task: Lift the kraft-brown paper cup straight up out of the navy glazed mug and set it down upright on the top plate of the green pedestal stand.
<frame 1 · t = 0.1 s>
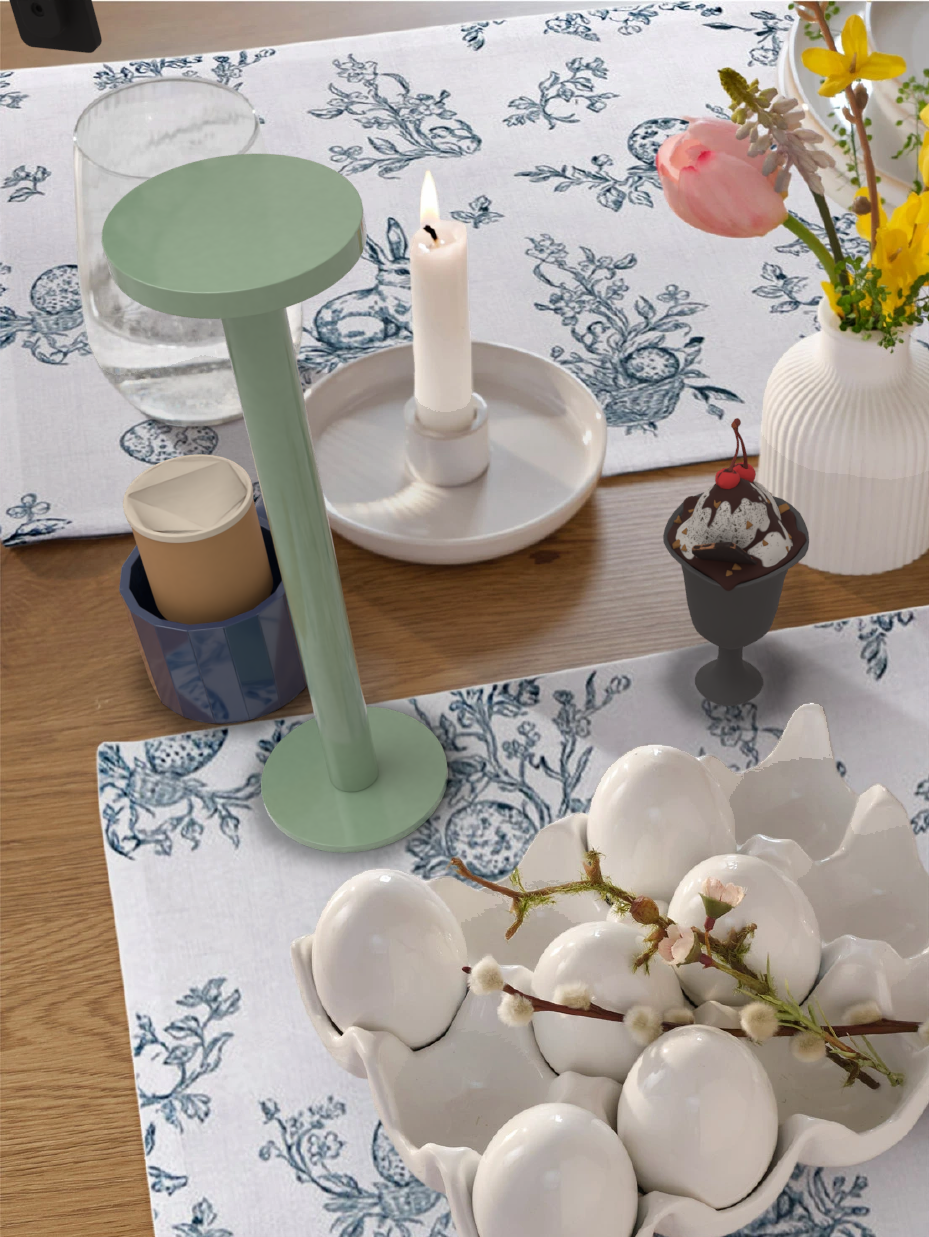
green pedestal stand: (232, 219, 56), on the table
paper cup: (234, 662, 84), point 1 cm above the table, touching mug
sundae: (727, 689, 83), on the table
mug: (237, 670, 84), on the table
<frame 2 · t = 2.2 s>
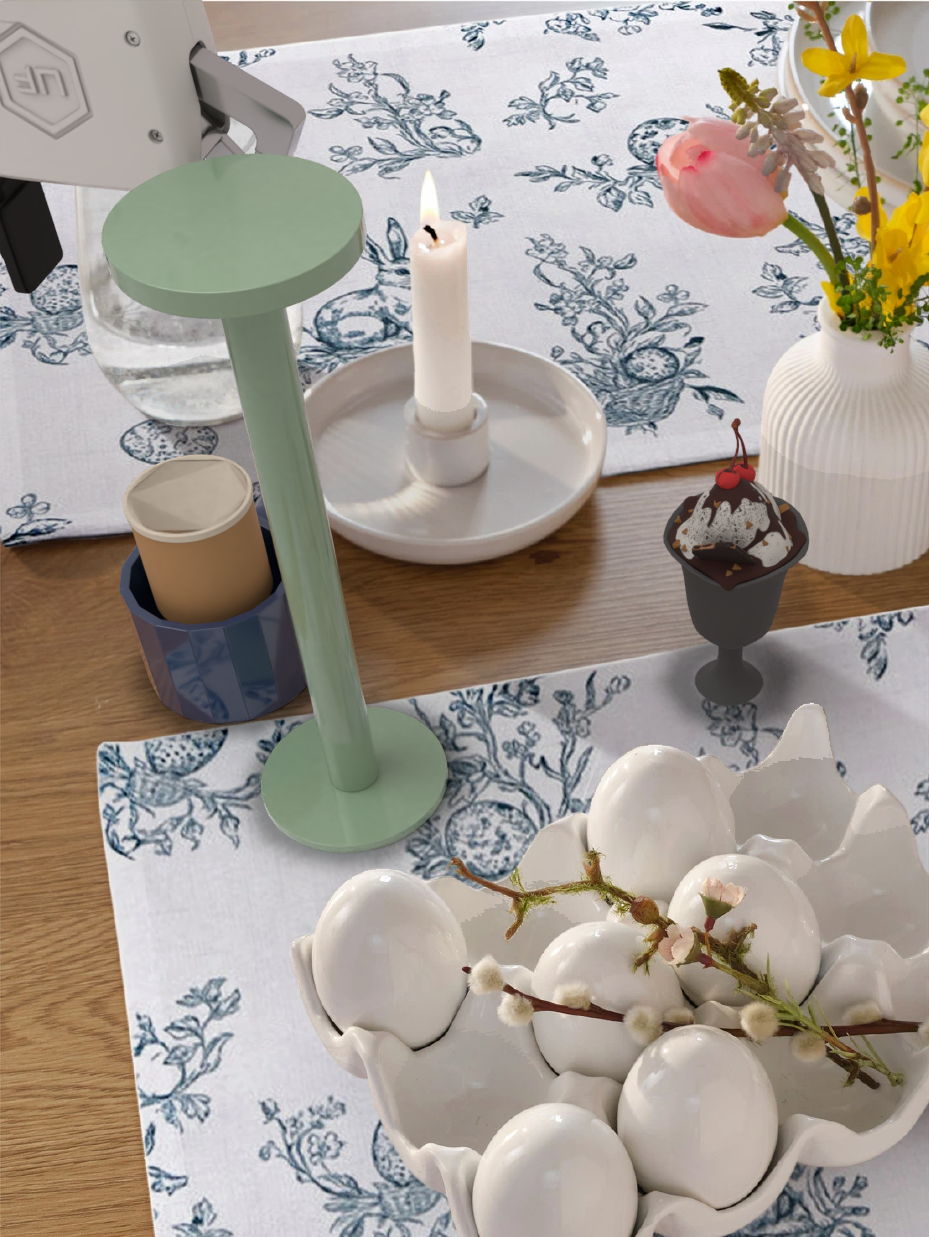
hand: (144, 288, 68), 22 cm above the table, tool pointing down, fingers open, 9 cm apart
nothing on the table moved.
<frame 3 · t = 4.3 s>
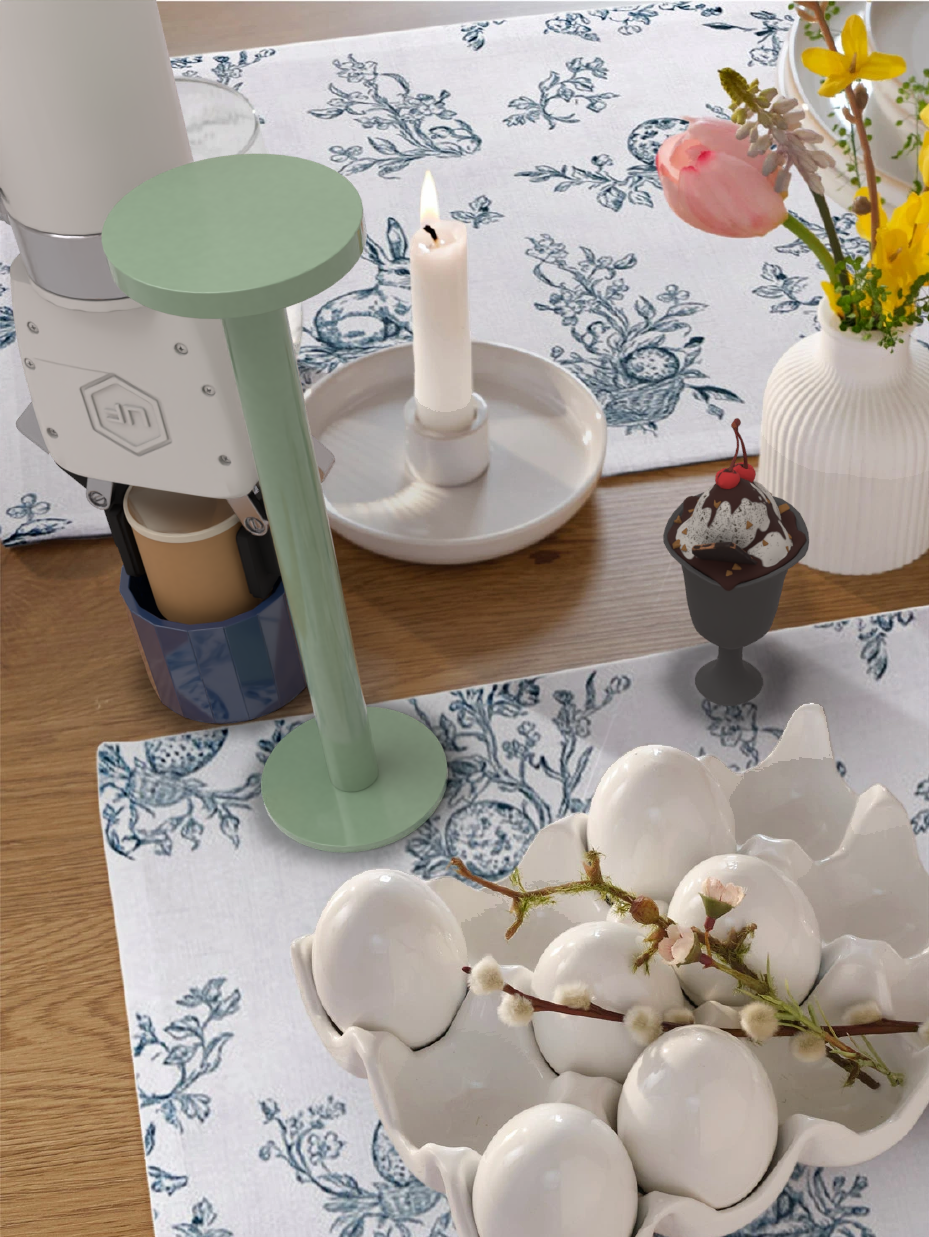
hand: (208, 566, 79), 7 cm above the table, tool pointing down, fingers closed on paper cup, 5 cm apart
paper cup: (235, 662, 84), point 1 cm above the table, touching gripper, mug
everything else where it was.
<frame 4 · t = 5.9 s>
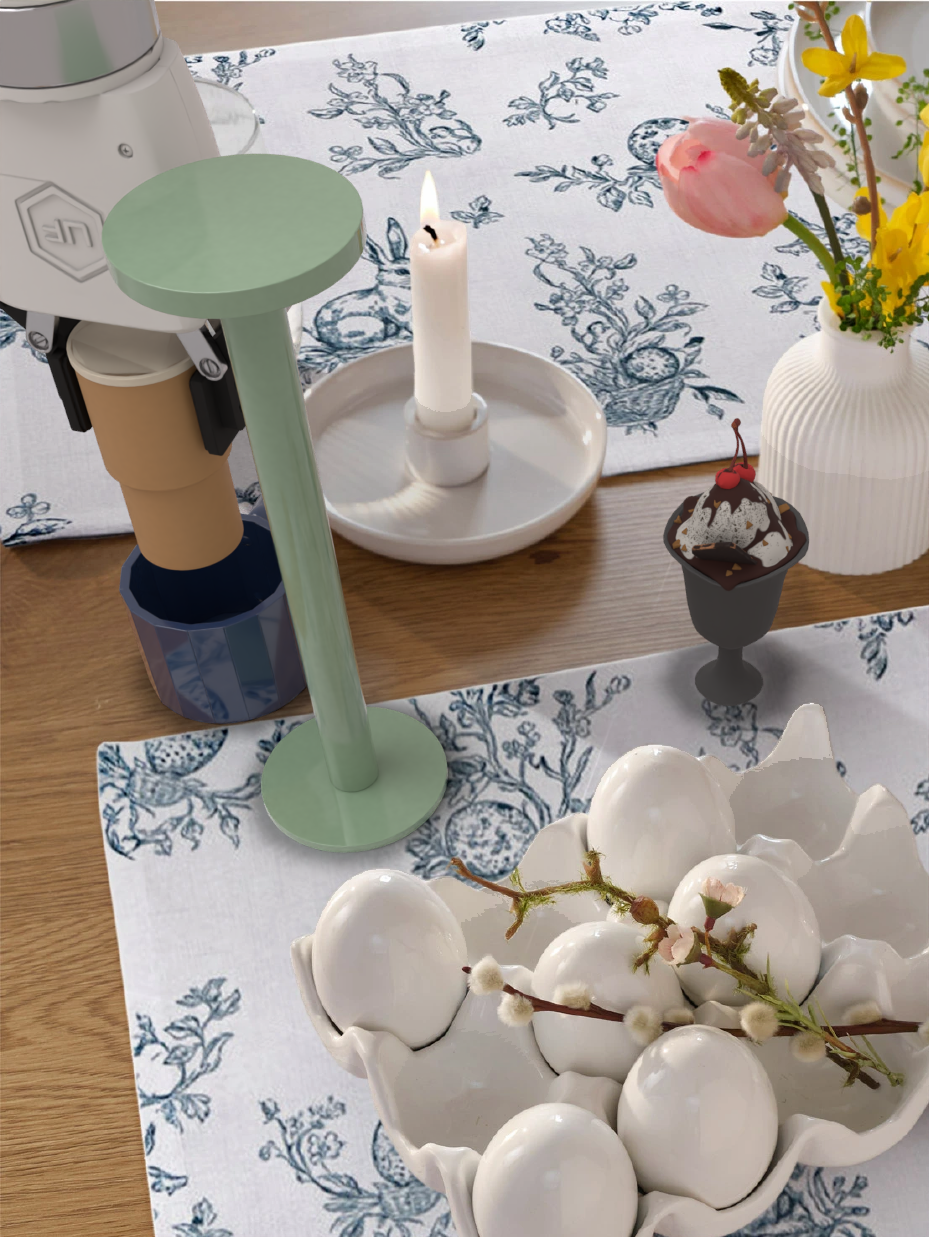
hand: (160, 421, 72), 16 cm above the table, tool pointing down, fingers closed on paper cup, 5 cm apart
paper cup: (191, 535, 77), point 9 cm above the table, touching gripper
everything else where it was.
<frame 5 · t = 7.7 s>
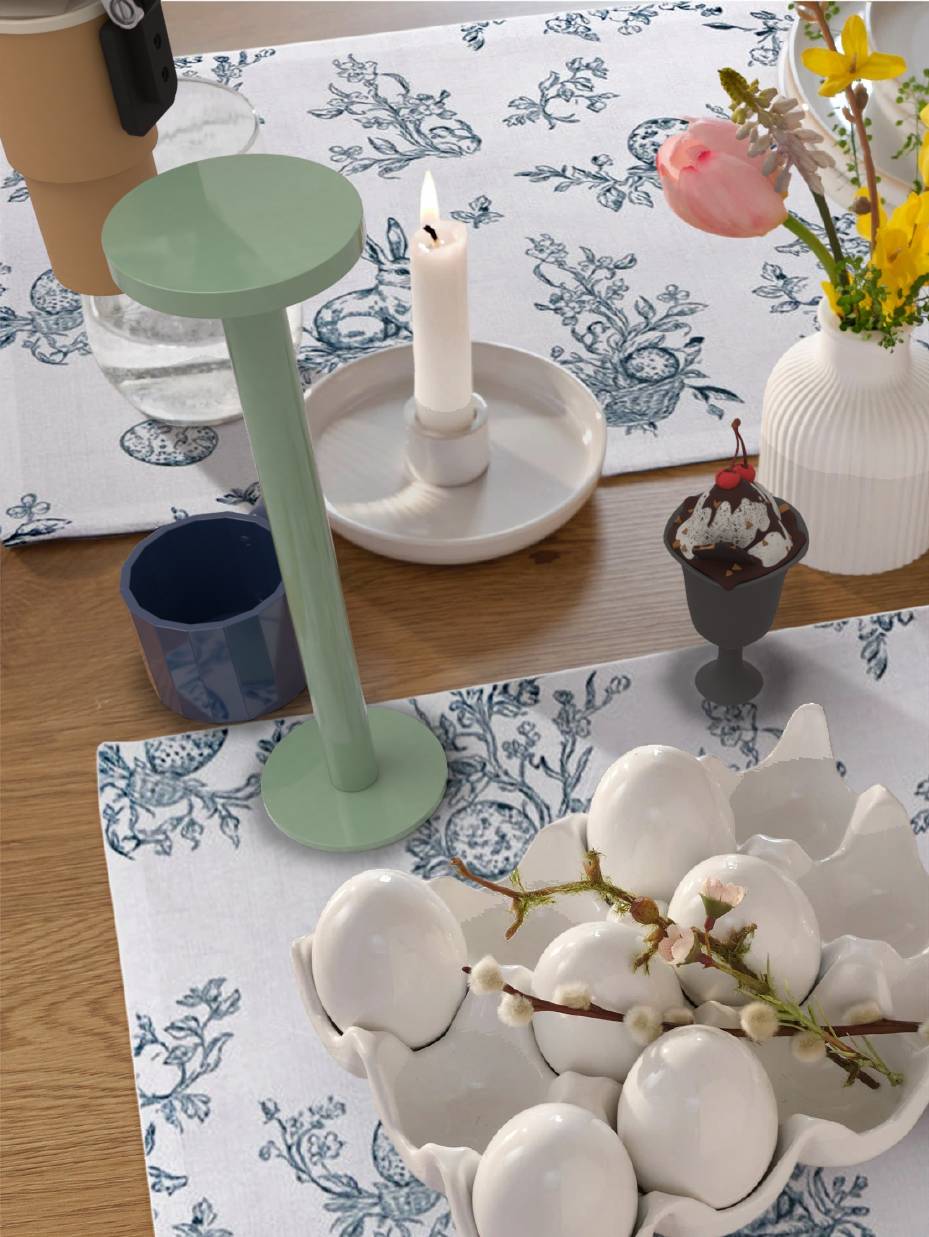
hand: (71, 104, 61), 30 cm above the table, tool pointing down, fingers closed on paper cup, 5 cm apart
paper cup: (115, 262, 66), point 24 cm above the table, touching gripper
everything else where it was.
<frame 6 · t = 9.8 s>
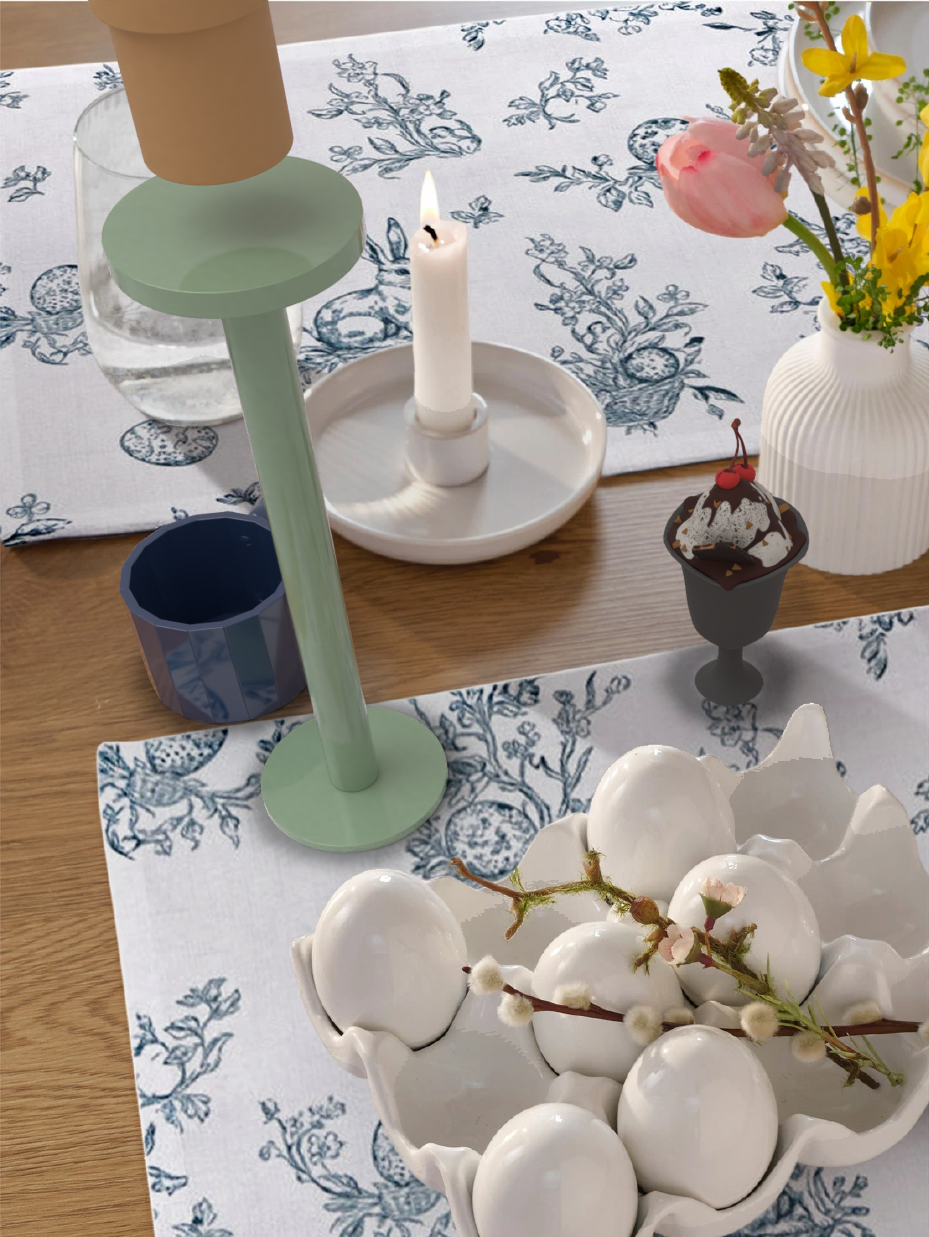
paper cup: (218, 147, 54), point 33 cm above the table, touching gripper
everything else where it was.
when the fingers open (37 cm above the table, at t = 11.1 s): paper cup stays where it is, resting on green pedestal stand.
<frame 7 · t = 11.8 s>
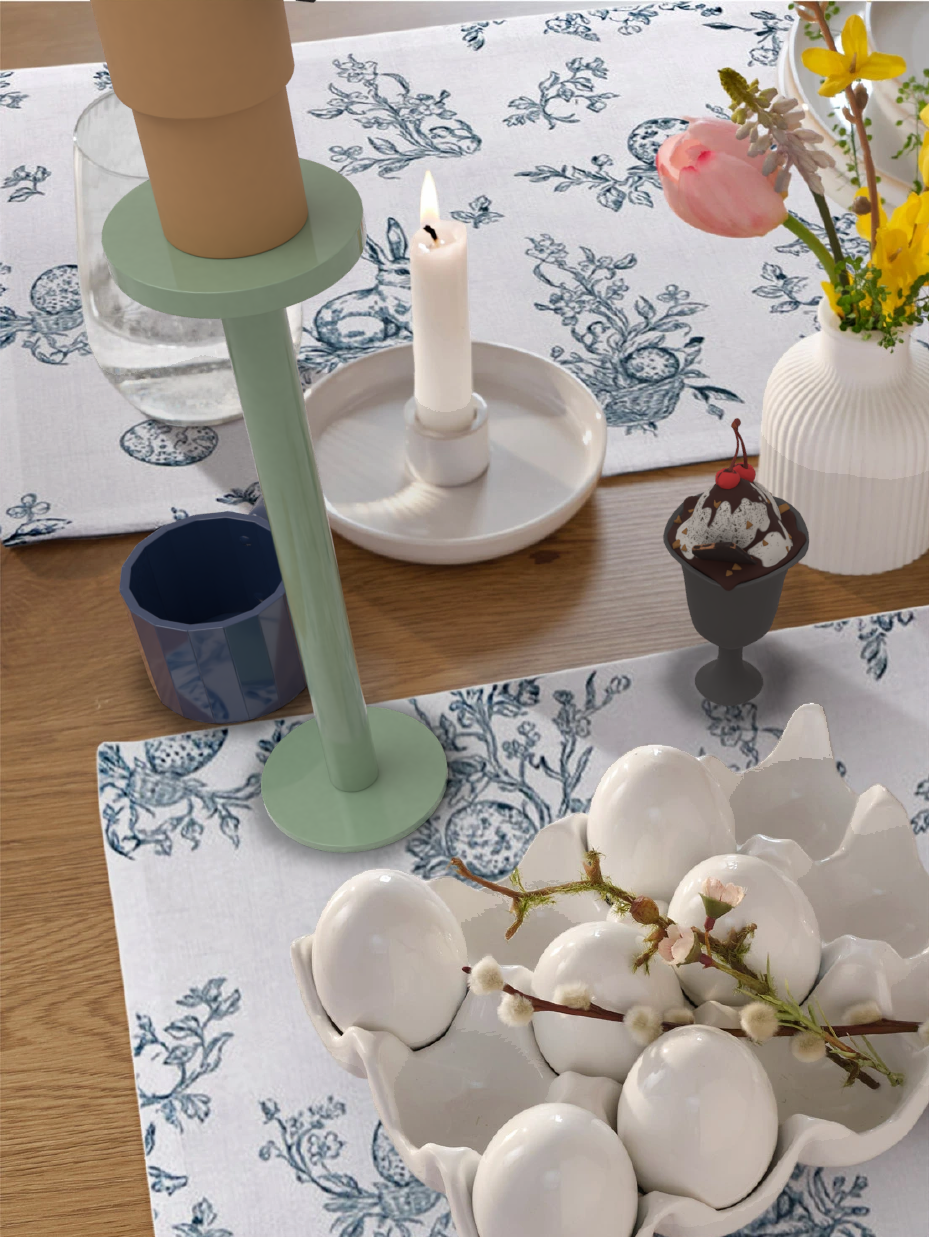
paper cup: (235, 219, 56), point 30 cm above the table, touching green pedestal stand
everything else where it was.
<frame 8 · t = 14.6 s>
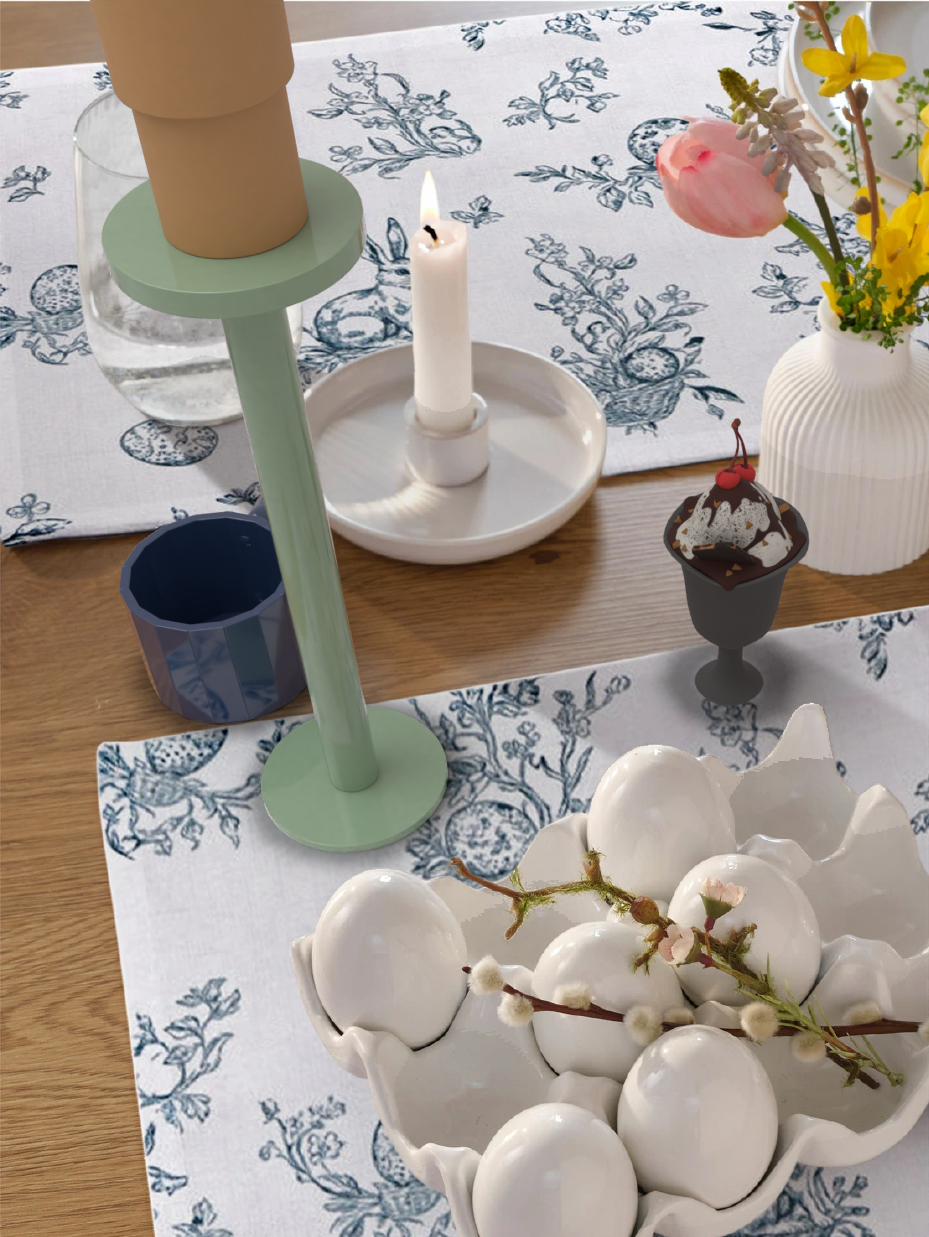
nothing on the table moved.
at the end: paper cup 0.1 cm off-centre on the green pedestal stand, point 0.0 cm above the green pedestal stand's base; paper cup tilted 0°; paper cup touching green pedestal stand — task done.
